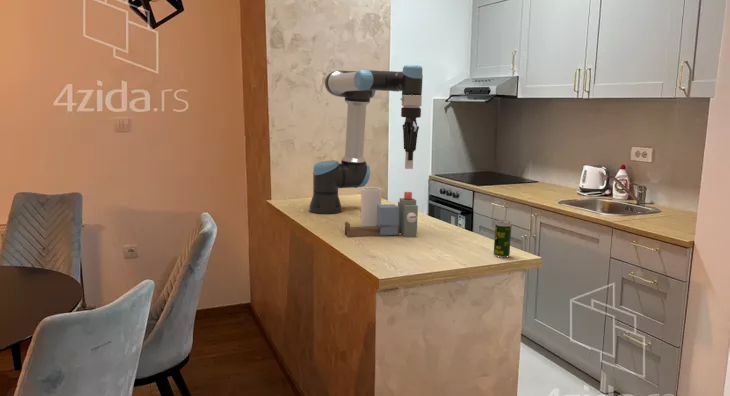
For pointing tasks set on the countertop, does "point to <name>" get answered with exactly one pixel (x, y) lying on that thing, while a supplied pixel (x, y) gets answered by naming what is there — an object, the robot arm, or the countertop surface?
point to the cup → (370, 205)
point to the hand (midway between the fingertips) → (408, 168)
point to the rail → (363, 231)
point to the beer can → (502, 238)
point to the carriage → (388, 219)
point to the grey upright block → (408, 217)
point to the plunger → (407, 195)
